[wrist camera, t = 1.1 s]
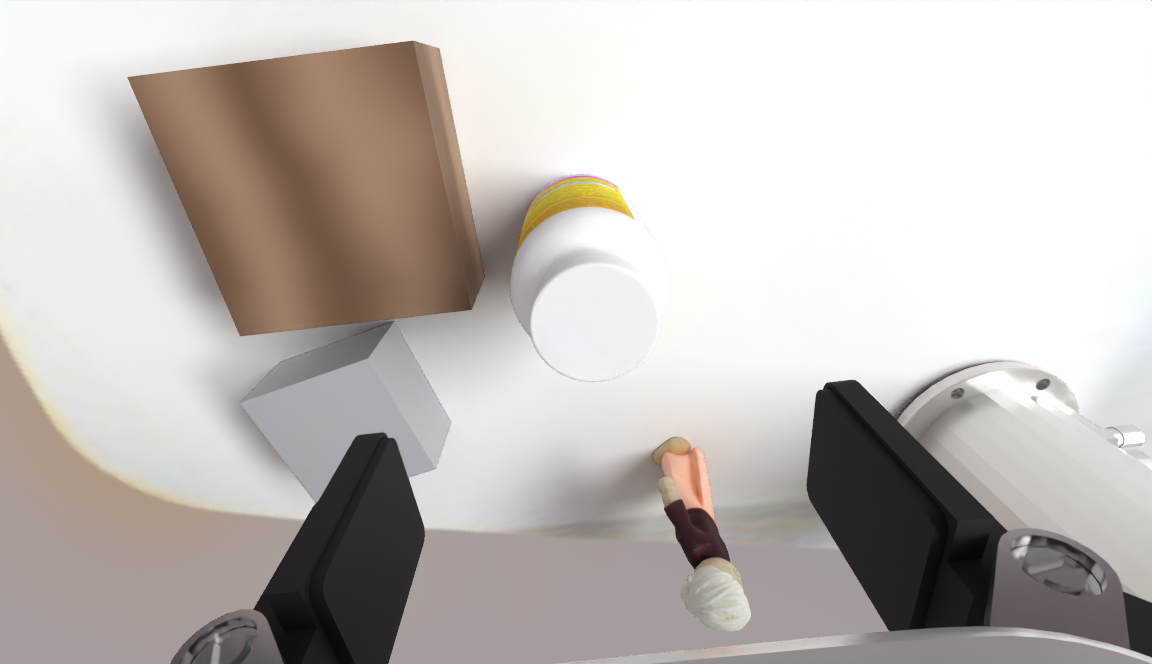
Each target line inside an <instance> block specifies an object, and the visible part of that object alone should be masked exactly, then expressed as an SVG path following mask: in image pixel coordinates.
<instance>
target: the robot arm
mask: <svg viewBox="0 0 1152 664" xmlns="http://www.w3.org/2000/svg"><path fill="white" fill-rule="evenodd" d="M1144 438H1145V437H1144V435H1143V432H1142V431H1141V430H1140V429H1139V428H1138V427H1136V426H1133V425H1126V426H1116V427H1109V428H1106V429H1103V428H1101V427H1099V426H1098V425H1096V424H1095V423H1093V422H1091V421H1090V420H1088V419H1087V418H1085V417H1084V416H1082V415H1080V414H1079V409H1078V404H1077V401H1076V399H1075V396H1074V394H1073V392H1072V391H1071V390H1070V388H1069V387H1068V386H1067V385H1066V384H1065V383H1064V382H1063V381H1061V380H1060V379H1058V378H1057V377H1056V376H1054V375H1052V374H1051V373H1049V372H1047V371H1045V370H1043V369H1041V368H1039V367H1037V366H1034V365H1030V364H1026V363H1022V362H1007V361H1003V362H994V363H986V364H982V365H978V366H974V367H970V368H967V369H964V370H962V371H960V372H957V373H955V374H952V375H950V376H948V377H946V378H944V379H943V380H941V381H939V382H938V383H936V384H934V385H932V386H931V387H930V388H928V389H927V390H926V391H924V392H923V393H922V394H921V395H919V396H918V397H917V398H916V399H915V400H914V401H913V402H912V403H911V404H910V405H909V406H908V407H907V408H906V409H905V410H904V411H903V413H902V414H901V415H900V417H899V418H898V420H896V419H895V418H894V417H893V416H892V415H891V414H890V413H889V412H888V411H887V410H886V409H885V408H884V407H883V406H882V405H881V404H880V403H879V402H878V401H877V400H876V399H875V398H874V397H873V396H872V395H871V394H870V393H869V392H868V391H867V390H866V389H865V388H864V387H863V386H862V385H861V384H860V383H859V382H857V381H856V380H846V381H838V382H829V383H826V384H825V386H824V388H823V390H819V391H818V392H817V394H816V400H815V409H814V419H813V429H812V438H811V448H810V457H809V467H808V476H807V492H808V496H809V499H810V501H811V503H812V504H813V506H814V508H815V509H816V511H817V513H818V514H819V516H820V518H821V519H822V521H823V523H824V524H825V526H826V527H827V529H828V531H829V532H830V534H831V536H832V537H833V539H834V541H835V542H836V544H837V546H838V547H839V549H840V551H841V552H842V554H843V555H844V557H845V559H846V561H847V562H848V564H849V565H850V567H851V569H852V570H853V572H854V574H855V575H856V577H857V579H858V580H859V582H860V583H861V585H862V587H863V588H864V590H865V592H866V594H867V595H868V597H869V599H870V600H871V602H872V604H873V605H874V607H875V608H876V610H877V612H878V613H879V615H880V617H881V618H882V620H883V622H884V623H885V625H886V626H887V628H888V630H889V631H888V632H876V633H863V634H850V635H840V636H829V637H818V638H808V639H798V640H788V641H776V642H766V643H755V644H746V645H735V646H724V647H714V648H704V649H694V650H684V651H675V652H664V653H654V654H645V655H634V656H625V657H615V658H605V659H595V660H585V661H576V662H566V663H556V664H1152V461H1151V459H1150V458H1149V457H1148V456H1147V455H1146V454H1145V453H1143V452H1141V451H1138V450H1126V451H1123V450H1122V449H1120V448H1123V447H1133V446H1141V445H1142V444H1143V443H1144ZM424 533H425V531H424V525H423V522H422V519H421V516H420V512H419V509H418V506H417V503H416V500H415V497H414V494H413V491H412V488H411V485H410V482H409V479H408V475H407V472H406V469H405V466H404V463H403V460H402V457H401V454H400V451H399V448H398V445H397V442H396V440H395V439H394V438H388V436H387V435H386V433H384V432H380V433H371V434H362V435H357V436H356V437H355V438H354V440H353V442H352V443H351V445H350V447H349V449H348V450H347V452H346V454H345V456H344V457H343V459H342V461H341V462H340V464H339V466H338V468H337V469H336V471H335V473H334V475H333V476H332V478H331V480H330V482H329V483H328V485H327V487H326V488H325V490H324V492H323V494H322V495H321V497H320V499H319V501H318V502H317V503H316V504H315V505H314V506H313V508H312V510H311V511H310V513H309V515H308V516H307V518H306V520H305V522H304V523H303V525H302V527H301V529H300V530H299V532H298V534H297V536H296V537H295V539H294V541H293V542H292V544H291V546H290V548H289V550H288V551H287V553H286V554H285V556H284V558H283V560H282V561H281V563H280V565H279V566H278V568H277V570H276V571H275V573H274V575H273V577H272V579H271V580H270V582H269V584H268V585H267V587H266V589H265V590H264V592H263V594H262V596H261V597H260V599H259V601H258V602H257V604H256V606H255V608H254V609H253V610H252V609H250V610H238V611H234V612H231V613H227V614H225V615H223V616H221V617H219V618H217V619H215V620H213V621H211V622H209V623H208V624H207V625H205V626H204V627H202V628H201V629H200V630H198V631H197V632H196V633H195V634H194V635H192V636H191V637H190V638H189V639H188V640H187V641H186V642H185V643H184V644H183V645H182V647H181V648H180V649H179V651H178V652H177V653H176V655H175V656H174V657H173V659H172V661H171V664H388V663H389V659H390V656H391V653H392V649H393V646H394V642H395V639H396V635H397V632H398V629H399V625H400V622H401V619H402V615H403V612H404V608H405V605H406V602H407V598H408V595H409V591H410V588H411V585H412V581H413V578H414V574H415V571H416V567H417V564H418V561H419V557H420V554H421V550H422V547H423V543H424V537H425V534H424Z"/></svg>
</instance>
